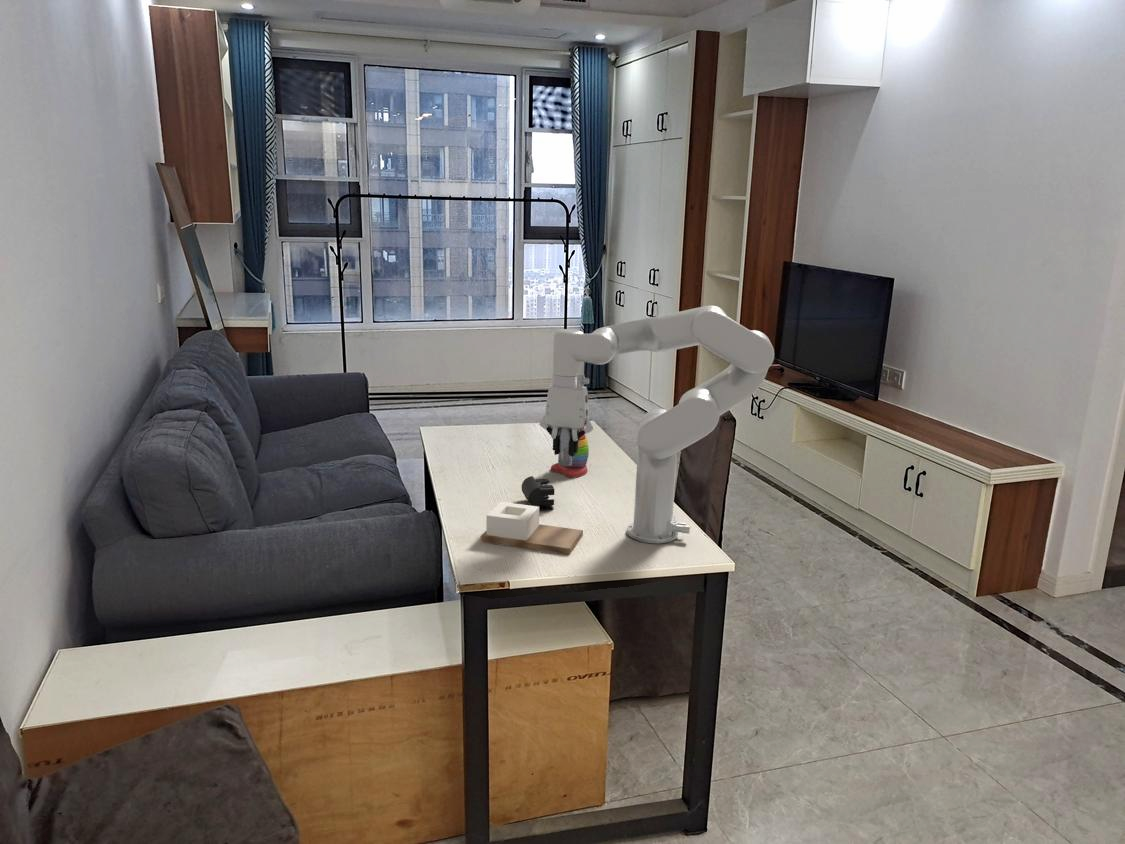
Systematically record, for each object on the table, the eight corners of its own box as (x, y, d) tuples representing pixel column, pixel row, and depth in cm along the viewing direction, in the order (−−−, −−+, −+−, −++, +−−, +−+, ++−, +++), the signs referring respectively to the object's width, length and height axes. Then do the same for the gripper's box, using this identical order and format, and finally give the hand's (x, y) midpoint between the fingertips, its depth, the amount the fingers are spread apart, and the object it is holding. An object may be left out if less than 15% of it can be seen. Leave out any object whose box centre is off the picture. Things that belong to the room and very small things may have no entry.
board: (582, 535, 204) (582, 530, 203) (569, 554, 192) (570, 548, 192) (498, 524, 209) (498, 518, 209) (480, 541, 198) (480, 535, 198)
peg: (573, 463, 206) (574, 424, 204) (569, 467, 203) (571, 427, 201) (560, 461, 207) (561, 422, 205) (556, 465, 204) (557, 426, 202)
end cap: (520, 499, 228) (521, 476, 226) (546, 498, 229) (546, 475, 228) (527, 512, 218) (528, 488, 217) (554, 511, 220) (555, 486, 218)
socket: (538, 525, 205) (539, 506, 204) (526, 540, 196) (526, 520, 195) (500, 520, 208) (500, 501, 206) (486, 535, 198) (486, 515, 197)
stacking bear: (547, 469, 254) (549, 413, 250) (572, 464, 261) (574, 409, 256) (571, 479, 246) (573, 420, 242) (596, 472, 253) (598, 416, 249)
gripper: (604, 381, 201) (601, 454, 206) (539, 375, 206) (537, 446, 210) (597, 387, 194) (594, 462, 199) (530, 381, 199) (528, 454, 203)
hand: (565, 453), depth 204 cm, fingers closed on peg, 3 cm apart
